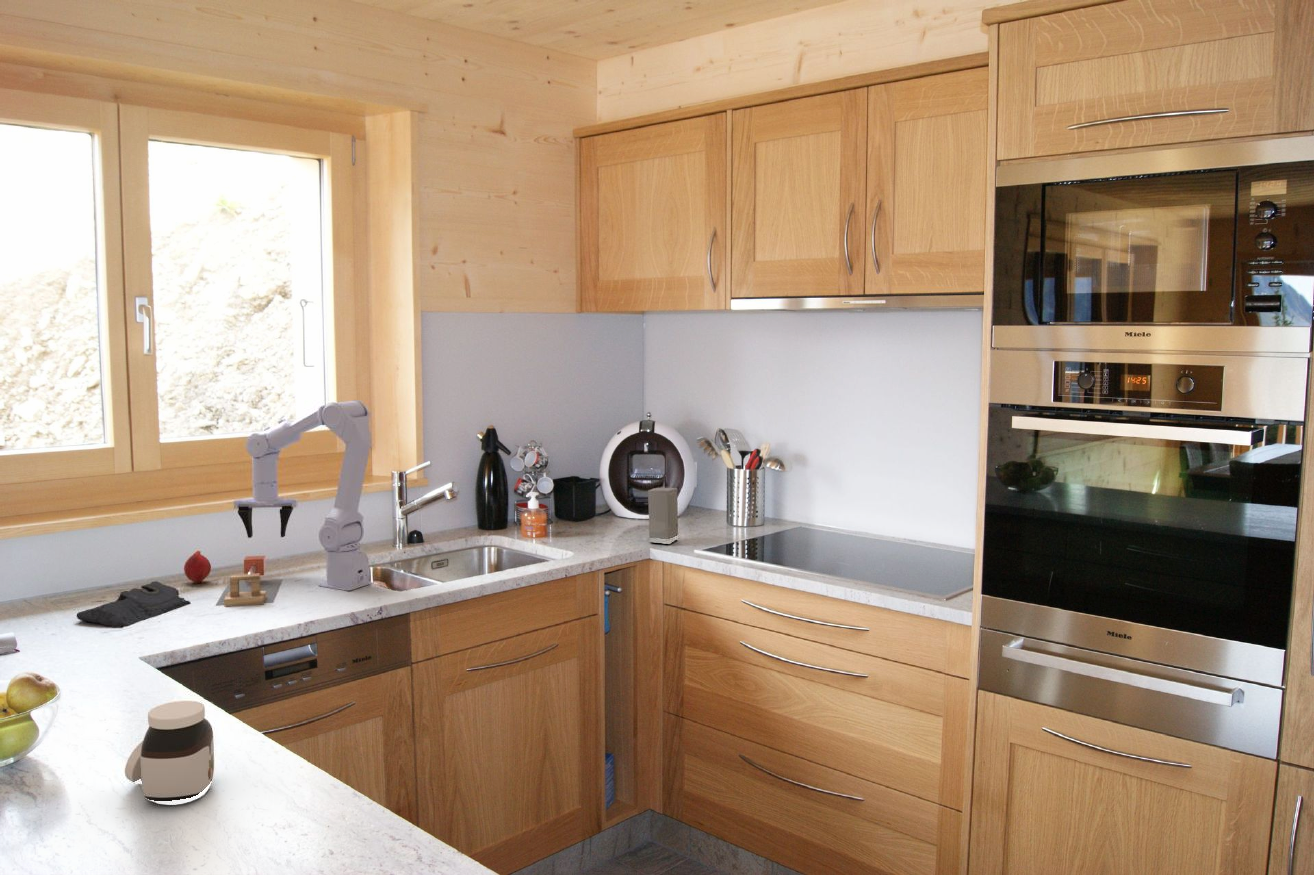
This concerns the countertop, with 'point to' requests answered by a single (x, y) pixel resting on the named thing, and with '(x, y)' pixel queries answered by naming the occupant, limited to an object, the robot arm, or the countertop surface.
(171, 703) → the spread jar
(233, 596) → the wooden arch frame
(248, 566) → the copper cube mallet
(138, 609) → the black folded cloth
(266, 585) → the gray panel
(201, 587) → the countertop surface
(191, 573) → the onion
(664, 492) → the skincare box
